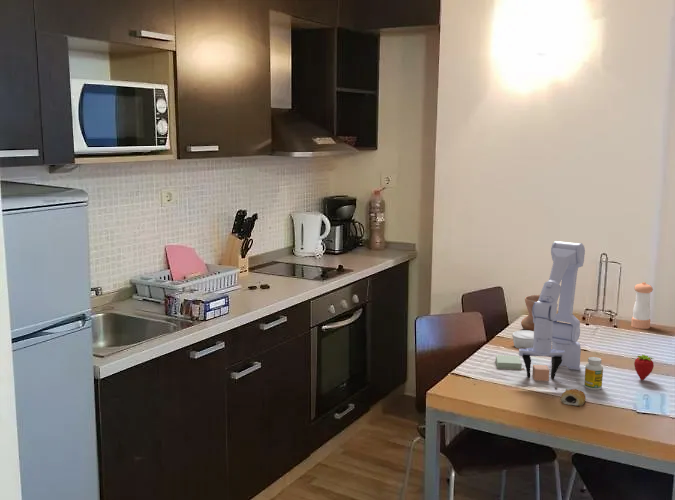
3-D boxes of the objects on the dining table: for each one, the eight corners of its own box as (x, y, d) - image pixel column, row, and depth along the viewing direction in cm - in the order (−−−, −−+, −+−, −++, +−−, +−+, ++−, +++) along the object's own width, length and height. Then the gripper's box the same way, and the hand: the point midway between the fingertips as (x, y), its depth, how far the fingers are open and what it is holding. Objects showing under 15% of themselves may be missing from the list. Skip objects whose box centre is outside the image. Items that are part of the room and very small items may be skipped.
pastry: (567, 394, 218) (568, 382, 217) (589, 398, 215) (590, 387, 214) (559, 403, 210) (560, 391, 210) (582, 408, 207) (583, 396, 206)
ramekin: (509, 350, 261) (510, 336, 260) (513, 341, 272) (514, 328, 271) (540, 353, 257) (541, 340, 256) (543, 345, 267) (544, 332, 267)
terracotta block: (546, 379, 230) (546, 365, 229) (548, 384, 226) (549, 369, 225) (532, 379, 231) (532, 364, 230) (534, 383, 226) (535, 369, 226)
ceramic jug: (526, 323, 297) (528, 291, 294) (561, 328, 289) (563, 295, 287) (515, 335, 281) (516, 301, 279) (551, 340, 274) (553, 305, 271)
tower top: (518, 361, 244) (519, 356, 244) (521, 369, 236) (521, 363, 236) (495, 360, 245) (495, 355, 245) (497, 368, 238) (497, 362, 237)
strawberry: (651, 377, 233) (653, 348, 231) (653, 385, 226) (656, 355, 224) (632, 375, 235) (634, 346, 233) (633, 382, 228) (636, 353, 226)
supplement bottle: (591, 383, 227) (593, 355, 226) (605, 388, 223) (607, 359, 221) (580, 386, 224) (582, 357, 223) (594, 391, 220) (596, 362, 218)
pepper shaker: (629, 323, 298) (632, 280, 294) (646, 324, 297) (650, 280, 293) (633, 328, 290) (637, 283, 287) (652, 329, 290) (655, 284, 286)
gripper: (521, 340, 223) (519, 380, 225) (568, 342, 221) (565, 382, 223) (518, 333, 230) (516, 373, 232) (563, 335, 228) (561, 375, 230)
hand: (540, 377), depth 228 cm, fingers open, 7 cm apart
